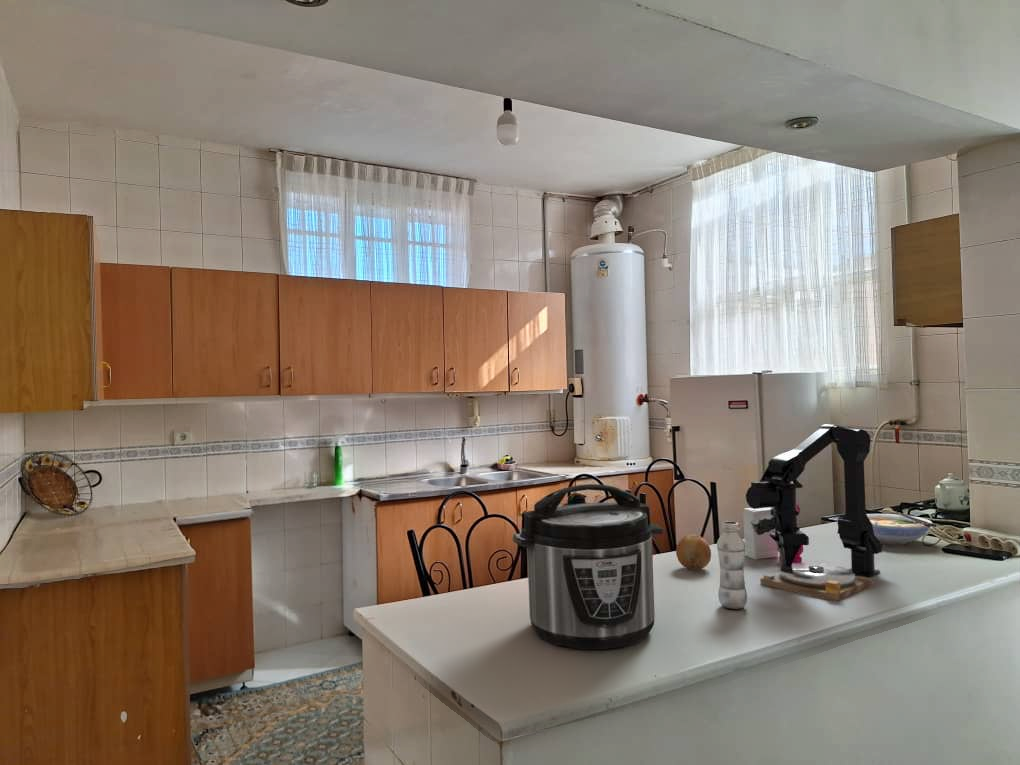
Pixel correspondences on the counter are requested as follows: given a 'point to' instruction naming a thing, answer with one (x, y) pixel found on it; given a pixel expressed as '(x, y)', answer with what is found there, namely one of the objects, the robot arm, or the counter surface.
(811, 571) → the dial
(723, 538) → the plastic bottle
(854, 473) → the robot arm
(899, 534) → the ramen bowl
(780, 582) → the dial base
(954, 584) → the counter surface
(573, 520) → the pressure cooker
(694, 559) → the onion
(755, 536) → the skincare box
